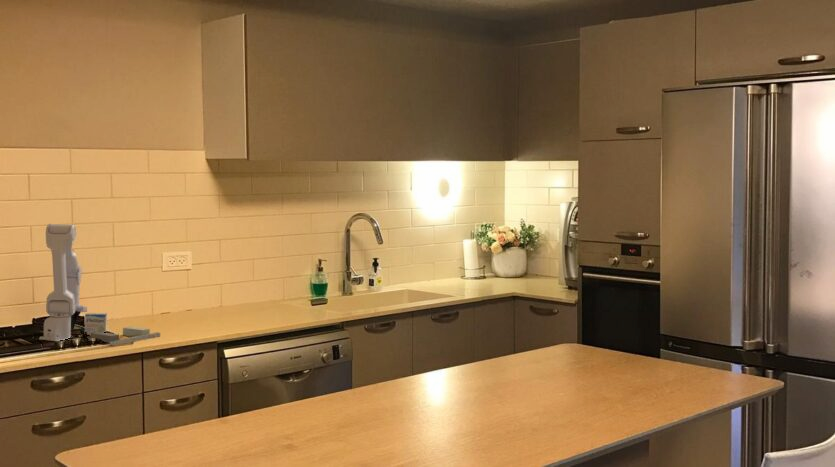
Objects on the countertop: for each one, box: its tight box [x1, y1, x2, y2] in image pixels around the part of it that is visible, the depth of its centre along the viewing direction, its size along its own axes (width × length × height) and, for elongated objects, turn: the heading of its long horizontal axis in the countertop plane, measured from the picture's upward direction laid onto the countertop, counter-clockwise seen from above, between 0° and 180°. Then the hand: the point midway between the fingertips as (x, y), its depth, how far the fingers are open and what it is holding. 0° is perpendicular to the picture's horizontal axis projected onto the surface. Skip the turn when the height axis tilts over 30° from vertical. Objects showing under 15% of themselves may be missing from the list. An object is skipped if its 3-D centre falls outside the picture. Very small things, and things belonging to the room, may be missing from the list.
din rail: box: [109, 332, 161, 347], centre depth 351 cm, size 26×2×2 cm, turn 155°
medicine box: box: [84, 312, 108, 333], centre depth 360 cm, size 8×4×9 cm, turn 106°
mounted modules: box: [90, 325, 151, 345], centre depth 355 cm, size 21×10×3 cm, turn 155°
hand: (71, 328), depth 365 cm, fingers closed
